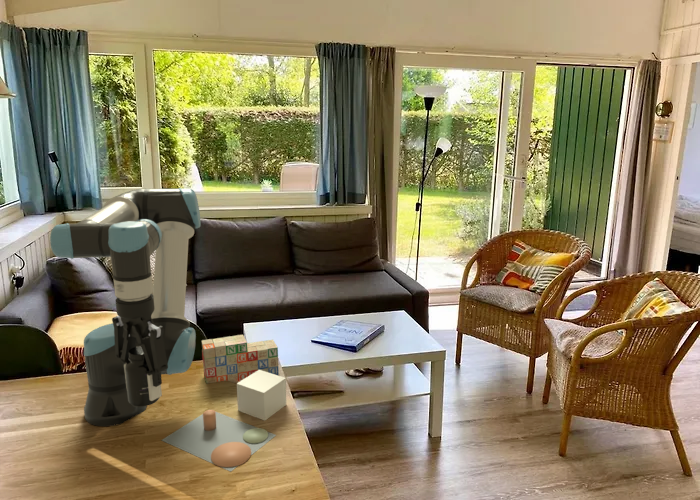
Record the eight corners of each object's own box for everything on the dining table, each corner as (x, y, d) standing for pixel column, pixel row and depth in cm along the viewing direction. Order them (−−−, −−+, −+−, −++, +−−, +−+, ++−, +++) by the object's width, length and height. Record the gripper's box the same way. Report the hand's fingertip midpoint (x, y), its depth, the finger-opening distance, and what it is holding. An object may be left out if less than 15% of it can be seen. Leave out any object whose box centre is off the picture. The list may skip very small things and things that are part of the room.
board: (161, 444, 131) (160, 425, 130) (210, 413, 144) (209, 395, 143) (232, 477, 120) (231, 456, 119) (278, 440, 133) (277, 421, 132)
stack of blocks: (274, 366, 170) (273, 330, 167) (279, 375, 165) (278, 338, 162) (203, 377, 163) (201, 339, 160) (206, 387, 158) (203, 348, 154)
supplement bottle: (150, 409, 118) (145, 358, 115) (121, 405, 120) (116, 355, 116) (166, 393, 125) (162, 344, 122) (139, 390, 126) (134, 342, 123)
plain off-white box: (238, 414, 144) (236, 383, 142) (260, 399, 151) (259, 369, 149) (264, 424, 140) (263, 392, 137) (286, 408, 147) (285, 378, 145)
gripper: (89, 292, 117) (100, 388, 123) (151, 310, 108) (161, 414, 114) (119, 282, 124) (129, 374, 130) (181, 299, 114) (188, 398, 120)
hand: (144, 393), depth 122 cm, fingers closed on supplement bottle, 7 cm apart
